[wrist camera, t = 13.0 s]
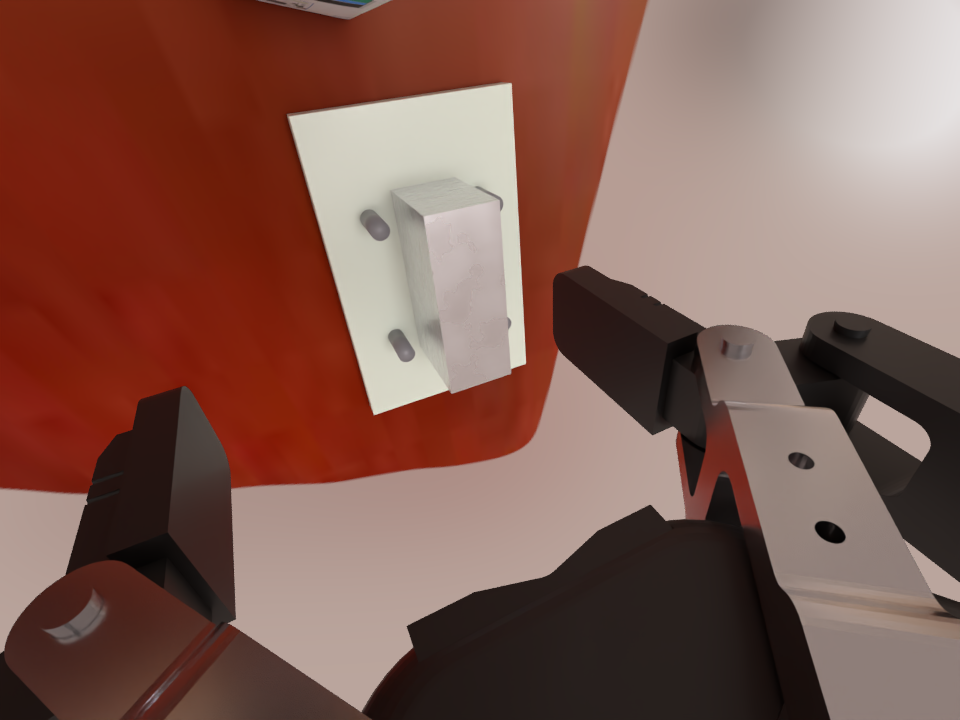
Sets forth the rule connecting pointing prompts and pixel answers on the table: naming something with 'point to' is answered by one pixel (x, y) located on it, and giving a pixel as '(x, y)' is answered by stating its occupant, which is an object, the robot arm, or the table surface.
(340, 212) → the peg board
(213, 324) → the table surface
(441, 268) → the plate
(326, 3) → the light bulb box
